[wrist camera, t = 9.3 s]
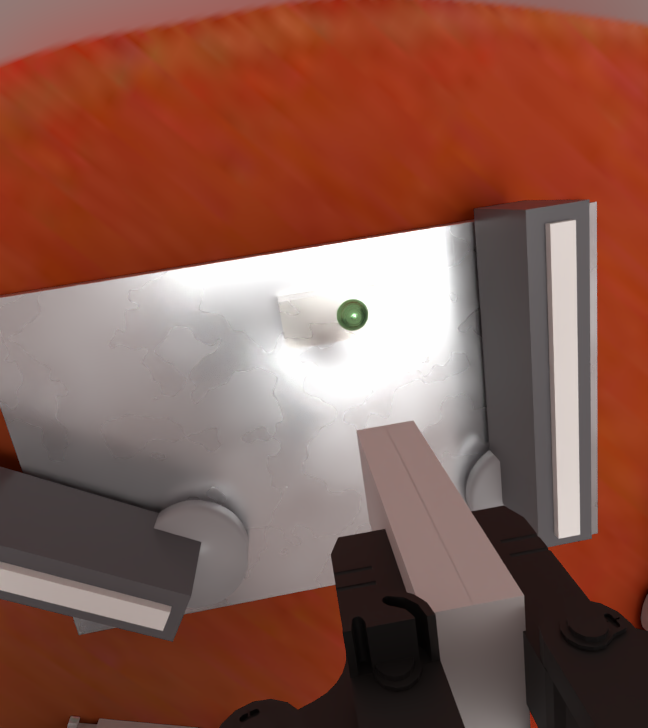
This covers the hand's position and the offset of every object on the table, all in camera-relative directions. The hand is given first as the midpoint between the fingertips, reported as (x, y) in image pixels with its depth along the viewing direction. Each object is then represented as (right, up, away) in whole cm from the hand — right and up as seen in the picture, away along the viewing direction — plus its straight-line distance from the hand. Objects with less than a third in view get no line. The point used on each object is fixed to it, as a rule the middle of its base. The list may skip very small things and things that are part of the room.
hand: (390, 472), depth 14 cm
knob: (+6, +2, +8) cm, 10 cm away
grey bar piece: (-12, -3, +8) cm, 15 cm away
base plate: (-2, 0, +9) cm, 10 cm away
